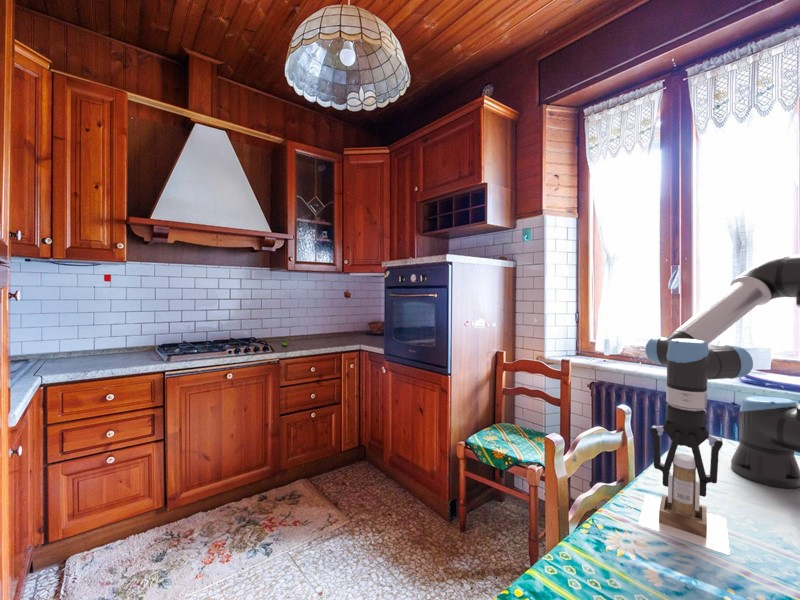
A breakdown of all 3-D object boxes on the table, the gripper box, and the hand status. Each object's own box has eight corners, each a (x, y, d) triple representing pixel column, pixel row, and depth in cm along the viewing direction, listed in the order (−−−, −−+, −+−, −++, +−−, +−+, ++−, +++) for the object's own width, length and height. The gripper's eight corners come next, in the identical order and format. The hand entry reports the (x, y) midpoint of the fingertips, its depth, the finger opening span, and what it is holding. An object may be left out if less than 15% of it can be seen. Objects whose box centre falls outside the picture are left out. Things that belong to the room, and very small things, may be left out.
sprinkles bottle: (698, 514, 87) (700, 457, 87) (690, 521, 85) (692, 463, 84) (675, 504, 91) (677, 450, 91) (667, 511, 89) (669, 455, 88)
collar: (706, 519, 89) (706, 506, 88) (706, 538, 82) (706, 524, 82) (662, 505, 94) (662, 494, 94) (658, 522, 87) (659, 510, 87)
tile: (726, 521, 89) (726, 517, 89) (729, 560, 77) (729, 555, 77) (646, 497, 99) (646, 494, 99) (638, 528, 87) (638, 524, 87)
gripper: (639, 402, 89) (637, 498, 90) (737, 418, 79) (733, 527, 79) (643, 395, 95) (641, 485, 96) (734, 409, 84) (731, 510, 85)
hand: (683, 503), depth 88 cm, fingers closed on sprinkles bottle, 4 cm apart
